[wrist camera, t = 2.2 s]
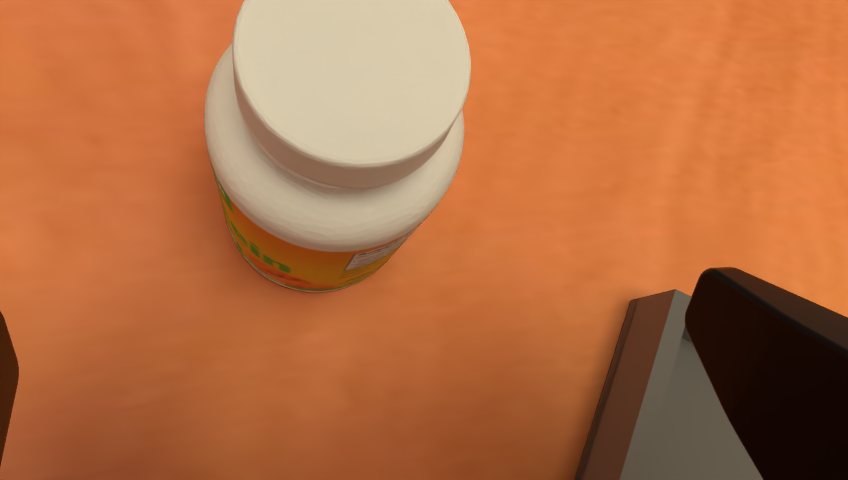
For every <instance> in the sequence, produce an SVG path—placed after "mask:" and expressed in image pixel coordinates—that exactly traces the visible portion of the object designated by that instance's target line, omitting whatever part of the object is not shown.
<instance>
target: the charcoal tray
mask: <svg viewBox="0 0 848 480" xmlns="http://www.w3.org/2000/svg"><path fill="white" fill-rule="evenodd" d="M690 299H691V296H689V295H687V294H684V293H682V292H680V291H678V290H676V289H674V290H670V291H666V292H662V293H658V294H654V295H650V296H646V297H642V298H638V299H634V300H631V302H630V305H629V309H628V312H627V315H626V318H625V321H624V324H623V328H622V331H621V334H620V337H619V340H618V343H617V347H616V350H615V353H614V356H613V359H612V363H611V366H610V369H609V372H608V375H607V378H606V382H605V385H604V388H603V391H602V394H601V398H600V401H599V404H598V407H597V410H596V413H595V417H594V420H593V423H592V426H591V429H590V432H589V436H588V439H587V442H586V445H585V448H584V452H583V455H582V458H581V461H580V464H579V467H578V471H577V474H576V477H575V480H763V479H762V477H761V475H760V474H759V472H758V470H757V468H756V467H755V465H754V463H753V462H752V460H751V458H750V456H749V455H748V453H747V451H746V450H745V448H744V446H743V445H742V443H741V441H740V439H739V438H738V436H737V434H736V432H735V431H734V429H733V427H732V425H731V423H730V422H729V420H728V418H727V416H726V414H725V412H724V410H723V408H722V406H721V404H720V401H719V399H718V397H717V395H716V393H715V391H714V388H713V386H712V384H711V382H710V380H709V378H708V376H707V373H706V371H705V369H704V367H703V365H702V363H701V360H700V358H699V356H698V354H697V352H696V350H695V347H694V345H693V343H692V341H691V339H690V337H689V334H688V332H687V330H686V326H685V312H686V309H687V307H688V304H689V302H690Z"/></svg>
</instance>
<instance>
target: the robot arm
mask: <svg viewBox="0 0 848 480" xmlns="http://www.w3.org/2000/svg"><path fill="white" fill-rule="evenodd" d="M685 326H686V330H687V332H688V334H689V337H690V339H691V341H692V343H693V345H694V347H695V350H696V352H697V354H698V356H699V358H700V360H701V363H702V365H703V367H704V369H705V371H706V373H707V376H708V378H709V380H710V382H711V384H712V386H713V388H714V391H715V393H716V395H717V397H718V399H719V401H720V404H721V406H722V408H723V410H724V412H725V414H726V416H727V418H728V420H729V422H730V423H731V425H732V427H733V429H734V431H735V432H736V434H737V436H738V438H739V439H740V441H741V443H742V445H743V446H744V448H745V450H746V451H747V453H748V455H749V456H750V458H751V460H752V462H753V463H754V465H755V467H756V468H757V470H758V472H759V474H760V475H761V477H762V479H763V480H848V318H847V317H845V316H843V315H841V314H838V313H836V312H834V311H832V310H829V309H827V308H825V307H823V306H820V305H818V304H816V303H814V302H811V301H809V300H807V299H805V298H802V297H800V296H798V295H796V294H793V293H791V292H789V291H787V290H784V289H782V288H780V287H778V286H775V285H773V284H771V283H769V282H766V281H764V280H762V279H760V278H757V277H755V276H753V275H751V274H748V273H746V272H744V271H742V270H739V269H737V268H733V267H721V268H709V269H707V270H705V271H704V272H703V273H702V274H701V275H700V277H699V279H698V282H697V284H696V287H695V289H694V292H693V294H692V297H691V299H690V302H689V304H688V307H687V309H686V312H685ZM18 378H19V367H18V361H17V357H16V354H15V351H14V348H13V344H12V341H11V338H10V335H9V332H8V329H7V326H6V322H5V319H4V317H3V315H2V313H1V312H0V466H1V461H2V456H3V451H4V447H5V442H6V437H7V432H8V427H9V423H10V418H11V413H12V408H13V404H14V399H15V394H16V389H17V385H18Z"/></svg>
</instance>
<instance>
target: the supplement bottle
mask: <svg viewBox="0 0 848 480" xmlns="http://www.w3.org/2000/svg"><path fill="white" fill-rule="evenodd" d="M470 74H471V60H470V51H469V46H468V42H467V38H466V35H465V31H464V29H463V26H462V24H461V22H460V20H459V17H458V16H457V14H456V12H455V10H454V9H453V7H452V5H451V4H450V3H449V1H448V0H245V1H244V3H243V4H242V6H241V8H240V11H239V13H238V16H237V18H236V22H235V27H234V31H233V41H232V43H231V44H230V46H229V47H228V48H227V50H226V51H225V52H224V53H223V55H222V57H221V58H220V60H219V61H218V63H217V65H216V67H215V69H214V71H213V73H212V76H211V79H210V82H209V86H208V90H207V94H206V100H205V109H204V128H205V137H206V143H207V148H208V153H209V157H210V161H211V164H212V168H213V171H214V175H215V179H216V183H217V186H218V190H219V194H220V198H221V202H222V206H223V210H224V214H225V219H226V223H227V226H228V229H229V231H230V234H231V236H232V238H233V240H234V242H235V244H236V246H237V248H238V250H239V251H240V253H241V254H242V255H243V257H244V258H245V259H246V260H247V262H248V263H249V264H250V265H251V266H252V267H253V268H254V269H256V270H257V271H258V272H259V273H261V274H262V275H263V276H265V277H266V278H268V279H270V280H271V281H273V282H275V283H277V284H280V285H282V286H285V287H288V288H291V289H294V290H299V291H305V292H328V291H334V290H339V289H342V288H346V287H348V286H351V285H354V284H356V283H358V282H360V281H362V280H363V279H365V278H367V277H369V276H370V275H371V274H373V273H374V272H375V271H377V270H378V269H379V268H380V267H381V266H382V265H383V264H384V263H386V262H387V260H388V259H389V258H390V257H391V256H392V255H393V254H394V253H395V252H396V251H397V249H398V248H399V247H400V246H401V245H402V244H403V243H404V242H405V241H406V239H407V238H408V237H409V236H410V235H411V234H412V233H413V232H414V231H415V230H416V228H417V227H418V226H419V225H420V224H421V223H422V222H423V221H424V220H425V219H426V218H427V217H428V216H429V214H430V213H431V212H432V211H433V210H434V209H435V207H436V206H437V205H438V203H439V202H440V200H441V199H442V198H443V196H444V194H445V193H446V191H447V189H448V188H449V186H450V184H451V182H452V180H453V178H454V176H455V174H456V172H457V169H458V165H459V162H460V159H461V155H462V149H463V141H464V118H463V111H462V108H463V105H464V103H465V100H466V96H467V93H468V89H469V84H470Z"/></svg>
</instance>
